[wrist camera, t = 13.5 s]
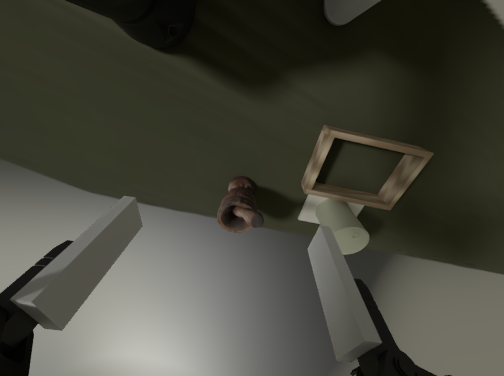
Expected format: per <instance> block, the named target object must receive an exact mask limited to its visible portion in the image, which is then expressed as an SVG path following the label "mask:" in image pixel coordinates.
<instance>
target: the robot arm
mask: <svg viewBox="0 0 504 376" xmlns="http://www.w3.org/2000/svg"><path fill="white" fill-rule="evenodd" d="M66 1H68V2H71V3H73V4H76V5H78V6H80V7H83V8H85V9H88V10H90V11H93V12H95V13H98V14H100V15H103V16H105V17H108V18H110V19H112V20H113V21H114V22H115V23H116V24H117V25H118V26H119V27H120V28H121V29H122V30H123V31H124V32H125V33H127V34H128V35H129V36H130V37H132V38H133V39H135V40H136V41H138V42H140V43H142V44H145V45H147V46H151V47H154V48H169V47H172V46H175V45H176V44H178V43H179V42H181V41H182V40H183V39H184V37H185V36H186V35H187V33H188V31H189V29H190V27H191V25H192V22H193V18H194V13H195V0H66ZM141 227H142V222H141V218H140V214H139V210H138V206H137V202H136V198H135V197H128V196H123V197H122V198H121V199H120V200H119V201H118V202H117V203H116V204H115V205H114V206H113V207H111V208H110V209H109V210H108V211H107V212H106V213H105V214H104V215H103V216H101V217H100V218H99V219H98V220H97V221H96V222H95V223H94V224H93V225H92V226H90V227H89V228H88V229H87V230H86V231H85V232H84V233H83V234H82V235H80V236H79V237H78V238H77V239H76V240H75V241H68V240H67V241H65V242H64V243H62V244H60V245H58V246H56V247H55V248H53V249H52V250H51V251H50V252H49V253H48V254H46V255H45V256H44V258H43V259H41V260H39V261H38V262H37V263H36V264H35V266H32V267H31V268H30V269H29V270H28V271H26V272H25V273H24V274H23V275H22V276H20V277H19V278H18V279H17V280H16V281H15V282H13V283H12V284H11V285H10V286H9V287H7V288H6V289H5V290H4V291H3V292H2V293H0V376H28V375H29V368H30V360H31V352H32V345H33V338H34V334H33V329H34V328H35V327H36V325H37V324H40V325H41V326H42V327H43V328H45V329H53V330H63V329H64V327H65V326H66V325H67V323H68V322H69V321H70V320H71V318H72V317H73V316H74V314H75V313H76V312H77V311H78V309H79V308H80V307H81V305H82V304H83V303H84V301H85V300H86V299H87V298H88V296H89V295H90V294H91V292H92V291H93V290H94V288H95V287H96V286H97V284H98V283H99V282H100V280H101V279H102V278H103V277H104V275H105V274H106V273H107V272H108V270H109V269H110V268H111V266H112V265H113V264H114V262H115V261H116V260H117V258H118V257H119V256H120V255H121V253H122V252H123V251H124V249H125V248H126V247H127V246H128V244H129V243H130V242H131V240H132V239H133V238H134V236H135V235H136V234H137V233H138V231H139V230H140V229H141ZM308 253H309V257H310V261H311V265H312V268H313V272H314V276H315V280H316V284H317V287H318V291H319V294H320V299H321V302H322V306H323V310H324V314H325V318H326V321H327V325H328V329H329V333H330V337H331V341H332V344H333V348H334V352H335V356H336V359H337V361H345V362H352V361H354V360H356V359H358V362H359V365H360V366H359V367H357V368H355V369H354V370H352V372H351V375H352V376H353V375H355V374H356V376H436V375H434V374H432V373H430V372H428V371H426V370H424V369H422V368H420V367H418V366H417V365H415V364H414V362H413V361H412V360H411V359H410V358H409V357H408V356H407V355H406V354H405V353H404V352H402V351H400V349H399V348H398V346H397V345H396V343H395V341H394V339H393V337H392V335H391V333H390V331H389V329H388V327H387V325H386V323H385V321H384V319H383V317H382V315H381V313H380V311H379V310H378V307H377V305H376V303H375V301H374V300H373V297H372V295H371V293H370V291H369V289H368V288H367V286H366V285H365V284H364V283H363V281H362V280H360V279H353V277H352V275H351V272H350V270H349V268H348V266H347V263H346V261H345V259H344V257H343V254H342V252H341V250H340V248H339V245H338V243H337V241H336V239H335V237H334V234H333V232H332V230H331V228H330V227H328V226H321V225H320V226H319V228H318V230H317V232H316V234H315V236H314V238H313V240H312V242H311V244H310V246H309V248H308ZM446 376H451V375H446Z"/></svg>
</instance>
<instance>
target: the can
mask: <svg viewBox="0 0 504 376" xmlns="http://www.w3.org/2000/svg"><path fill="white" fill-rule="evenodd" d="M315 214H316V217H317V219H318V220H319V223H320V225H321V226H328V227H330V228H331V230H332V232H333V234H334V237H335V239H336V241H337V243H338V245H339V248H340V250H341V252H342V254H352V253H355V252H358V251H360V250H361V249H363V248H364V247H365V246H366V245H367V244H368V242H369V234H368V232H367V231H366V230H365V229H364V227H363V226H362V224H361V223H360V222H359V220H358V219H357V217H356V216H355V214H354V213H353V212H352V210H351V209H350V207H349V205H348V203H347V202H345V201H340V200H335V199H330V198H329V199H326V200H324V201H322V202H321V203H320V204H319V205H318V206H317V208H316V212H315Z"/></svg>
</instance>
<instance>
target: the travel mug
mask: <svg viewBox="0 0 504 376" xmlns="http://www.w3.org/2000/svg"><path fill="white" fill-rule="evenodd" d="M379 1H381V0H324V14H325V17H326V19H327V20H328V21H329V22H330V23H331V24H332V25H335V26H341V25H344V24H347V23H348V22H350V21H351V20H353V19H354V18H356V17H357V16H359V15H360V14H361V13H363V12H364V11H366V10H367V9H369V8H370V7H372V6H373V5H375V4H376V3H378V2H379Z"/></svg>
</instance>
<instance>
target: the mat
mask: <svg viewBox="0 0 504 376" xmlns="http://www.w3.org/2000/svg"><path fill="white" fill-rule="evenodd" d="M326 199H329V198H325V197H320V196H315V195H310V194H308V196H307V199H306V201H305V203H304V205H303V208H302V210H301V212H300V215H299V217H298V220H302V221H308V222H313V223H318V224H320V223H319V220H318V219H317V217H316V214H315V212H316V208H317V206H318V205H319V204H320V203H321V202H322V201H324V200H326ZM347 203H348V205H349V207H350V209H351V210H352V212H353V213H354V214H355V216H356V217H357V216H358V214H359V213H360V211H361V210H362V208H363V207H364V205H360V204H355V203H350V202H347Z"/></svg>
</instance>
